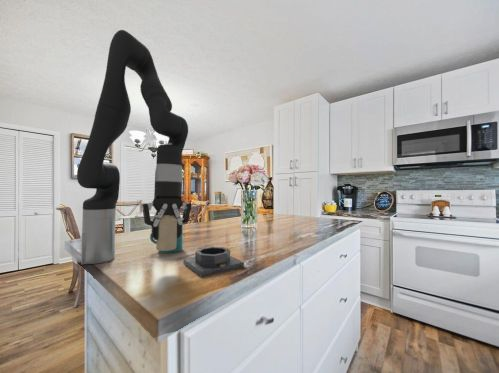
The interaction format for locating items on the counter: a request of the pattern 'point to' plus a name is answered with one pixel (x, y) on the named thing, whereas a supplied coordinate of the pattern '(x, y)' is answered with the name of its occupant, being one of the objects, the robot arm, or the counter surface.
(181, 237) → the cup
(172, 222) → the candle
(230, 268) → the mount
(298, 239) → the counter surface
